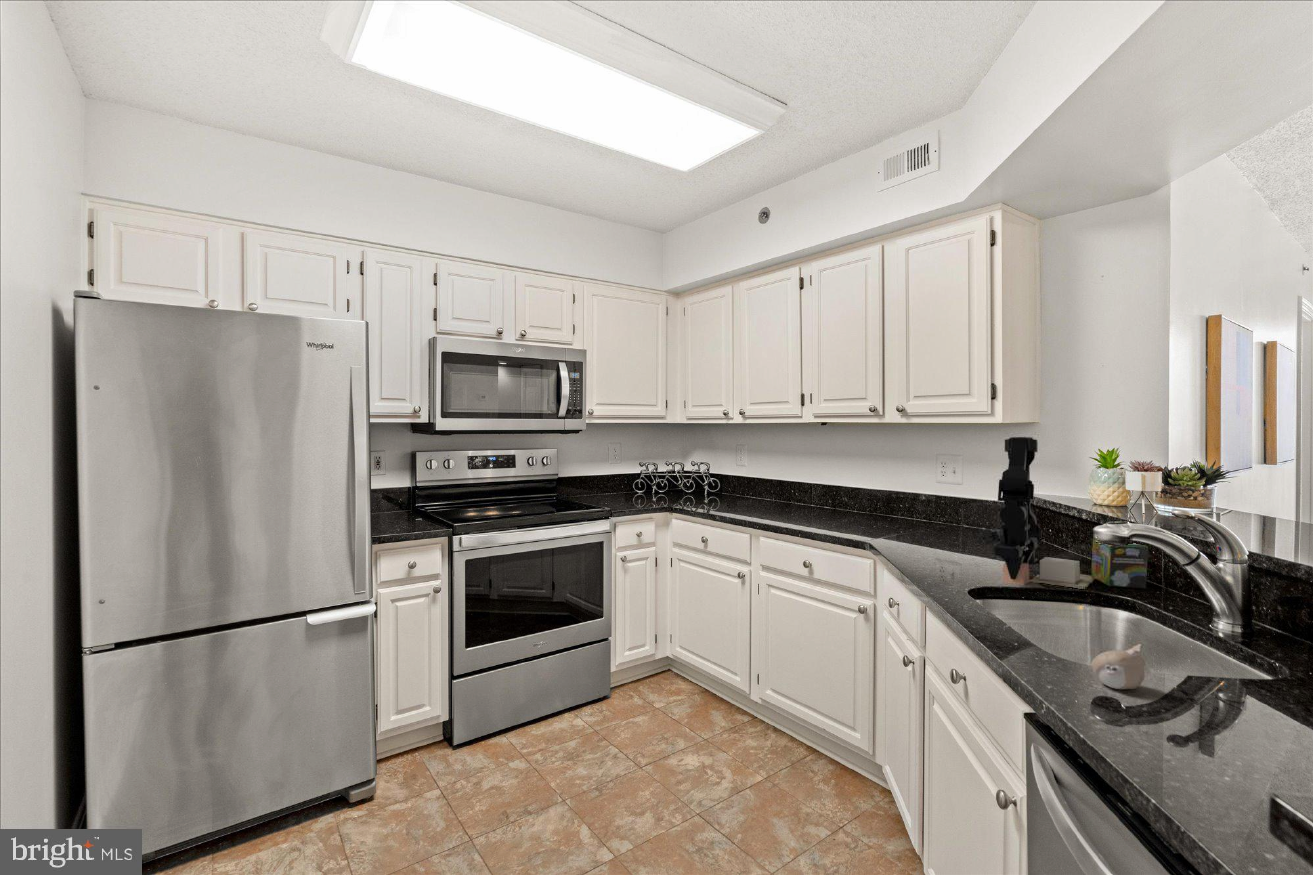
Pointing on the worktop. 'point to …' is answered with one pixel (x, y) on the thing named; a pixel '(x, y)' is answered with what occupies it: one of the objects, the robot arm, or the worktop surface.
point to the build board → (1080, 584)
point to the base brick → (1060, 570)
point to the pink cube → (1021, 577)
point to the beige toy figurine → (1120, 668)
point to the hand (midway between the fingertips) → (1016, 577)
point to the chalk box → (1120, 565)
